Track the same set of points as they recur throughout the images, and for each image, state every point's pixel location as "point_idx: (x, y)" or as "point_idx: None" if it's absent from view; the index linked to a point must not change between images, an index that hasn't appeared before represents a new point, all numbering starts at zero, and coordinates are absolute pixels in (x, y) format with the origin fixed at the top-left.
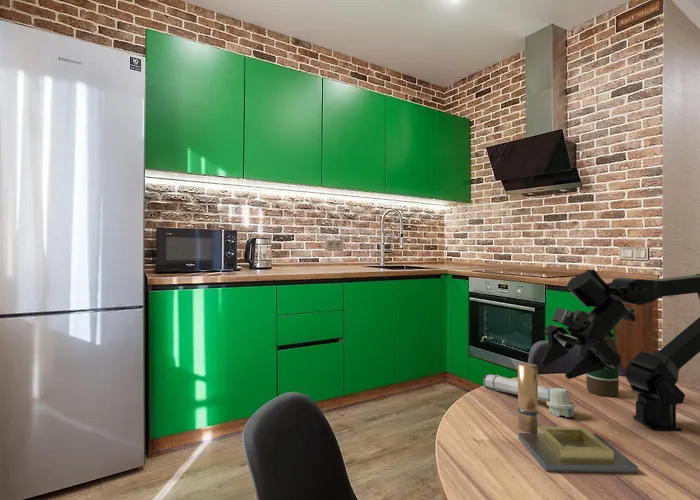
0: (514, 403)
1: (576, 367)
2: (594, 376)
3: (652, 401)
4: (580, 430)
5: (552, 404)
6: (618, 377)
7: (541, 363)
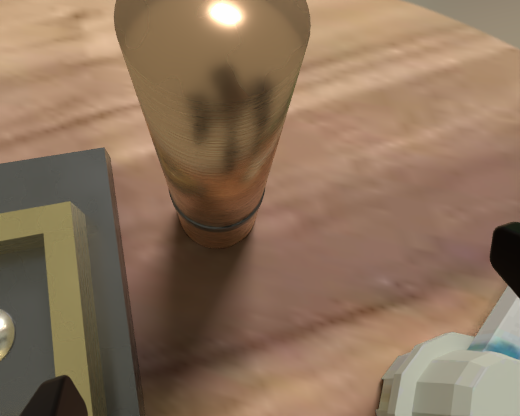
0: (477, 205)
1: None
2: None
3: None
4: None
5: (416, 353)
6: None
7: (499, 227)
